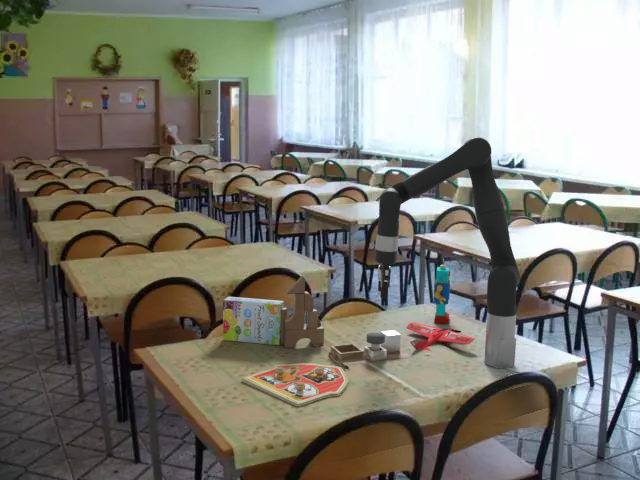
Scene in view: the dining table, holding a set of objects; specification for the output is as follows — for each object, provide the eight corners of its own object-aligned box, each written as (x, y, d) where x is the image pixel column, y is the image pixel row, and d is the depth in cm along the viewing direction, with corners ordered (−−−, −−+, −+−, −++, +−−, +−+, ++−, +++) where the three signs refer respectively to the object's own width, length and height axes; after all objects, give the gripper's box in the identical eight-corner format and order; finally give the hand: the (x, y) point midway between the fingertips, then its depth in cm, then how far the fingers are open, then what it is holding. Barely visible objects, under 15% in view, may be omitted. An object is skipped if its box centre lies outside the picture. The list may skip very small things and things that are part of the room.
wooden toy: (319, 339, 267) (320, 271, 262) (324, 345, 261) (325, 276, 256) (277, 342, 264) (277, 273, 259) (280, 348, 257) (280, 277, 253)
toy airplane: (485, 345, 266) (485, 331, 265) (449, 365, 245) (450, 351, 244) (419, 330, 282) (419, 317, 281) (380, 348, 260) (380, 334, 259)
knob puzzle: (237, 381, 229) (237, 367, 228) (307, 359, 249) (308, 346, 248) (303, 411, 208) (303, 396, 207) (373, 384, 229) (374, 370, 228)
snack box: (284, 341, 265) (284, 300, 263) (279, 346, 260) (279, 304, 257) (228, 335, 270) (227, 295, 268) (222, 340, 265) (222, 299, 262)
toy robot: (448, 325, 287) (451, 262, 283) (432, 324, 288) (435, 261, 284) (449, 317, 298) (452, 256, 294) (433, 316, 299) (436, 255, 295)
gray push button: (387, 351, 245) (388, 337, 244) (370, 353, 243) (371, 339, 242) (379, 346, 251) (380, 331, 250) (363, 348, 248) (363, 333, 248)
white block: (400, 351, 253) (400, 334, 252) (386, 352, 252) (387, 335, 250) (393, 346, 258) (394, 330, 257) (380, 348, 256) (380, 331, 255)
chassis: (412, 360, 248) (413, 348, 247) (344, 368, 239) (345, 356, 239) (394, 347, 261) (394, 335, 260) (328, 354, 252) (329, 342, 251)
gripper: (400, 253, 243) (395, 301, 246) (395, 243, 256) (390, 289, 260) (377, 252, 242) (373, 300, 246) (373, 242, 256) (369, 288, 260)
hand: (382, 294), depth 253 cm, fingers open, 8 cm apart
